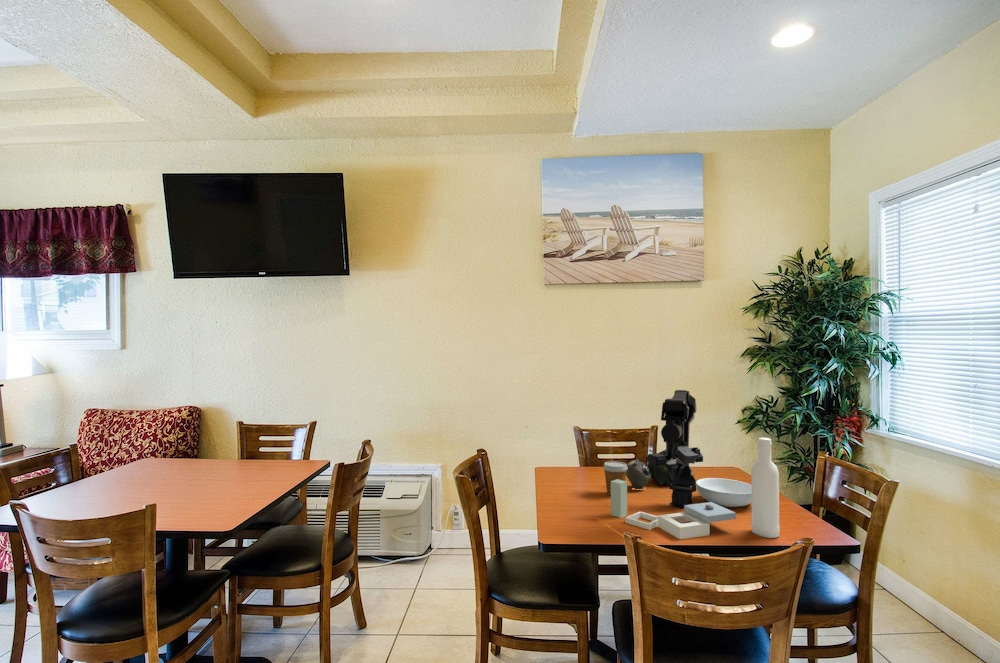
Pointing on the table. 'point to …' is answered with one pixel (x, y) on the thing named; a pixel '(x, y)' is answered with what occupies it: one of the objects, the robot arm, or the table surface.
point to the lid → (710, 512)
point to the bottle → (765, 493)
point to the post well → (633, 521)
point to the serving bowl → (725, 491)
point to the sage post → (619, 498)
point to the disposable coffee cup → (614, 473)
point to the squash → (659, 472)
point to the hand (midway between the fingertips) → (675, 483)
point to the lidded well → (683, 526)
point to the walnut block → (682, 520)
